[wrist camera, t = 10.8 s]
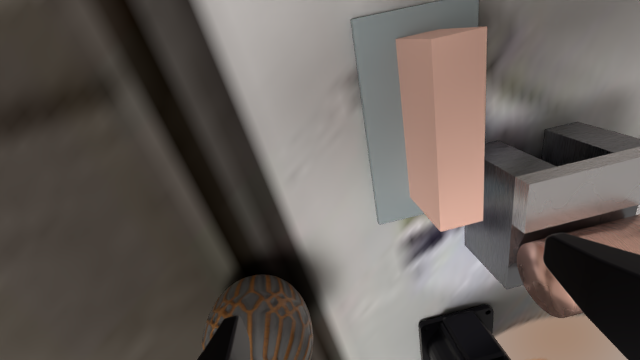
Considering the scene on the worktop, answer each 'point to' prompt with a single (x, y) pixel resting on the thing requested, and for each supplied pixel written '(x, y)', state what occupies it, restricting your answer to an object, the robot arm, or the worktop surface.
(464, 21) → the mat
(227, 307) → the vase
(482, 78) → the salmon pink rectangular block
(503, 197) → the dispenser
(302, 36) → the worktop surface
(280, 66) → the worktop surface
